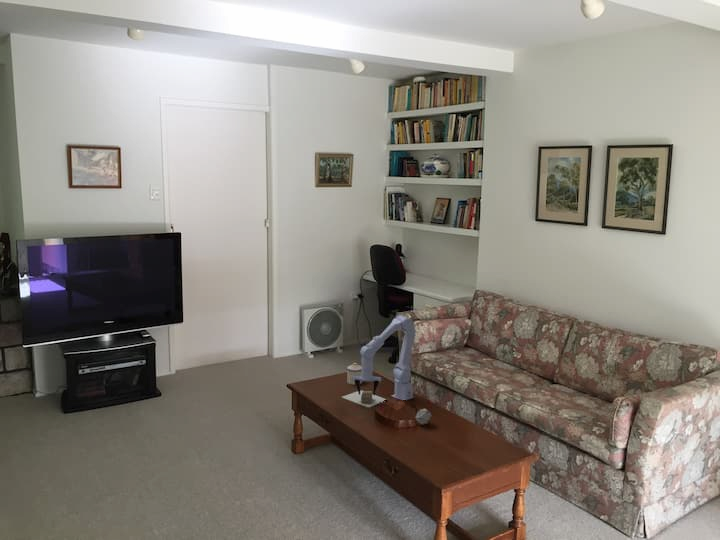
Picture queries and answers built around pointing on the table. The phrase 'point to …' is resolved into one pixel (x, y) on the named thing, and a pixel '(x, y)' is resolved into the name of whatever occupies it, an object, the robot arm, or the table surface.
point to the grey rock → (423, 416)
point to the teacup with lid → (353, 373)
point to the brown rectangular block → (366, 397)
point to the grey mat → (357, 399)
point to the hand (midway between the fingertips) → (366, 394)
